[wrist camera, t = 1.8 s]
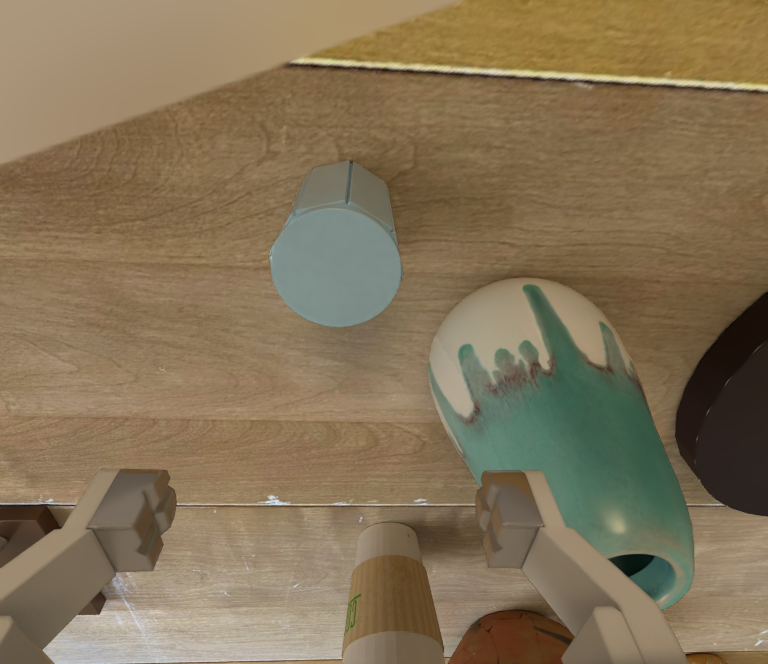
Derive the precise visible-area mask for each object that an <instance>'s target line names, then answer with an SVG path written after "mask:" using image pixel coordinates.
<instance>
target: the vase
mask: <svg viewBox="0 0 768 664" xmlns="http://www.w3.org/2000/svg"><path fill="white" fill-rule="evenodd" d="M429 383H430V389H431V393H432V397H433V400H434V403H435V406H436V409H437V412H438V414H439V416H440V419H441V421H442V424H443V426H444V428H445V430H446V432H447V434H448V436H449V438H450V440H451V442H452V443H453V445H454V447H455V449H456V450H457V452H458V454H459V456H460V457H461V459H462V460H463V462H464V463H465V465H466V467H467V468H468V470H469V471H470V473H471V474H472V476H473V477H474V479H475V481H476V482H477V484H478V485H479V487H480V488H481V487H482V483H481V476H482V473H483V472H484V471H485V470H521V471H524V470H539V471H542V472H543V473H544V475H545V477H546V480H547V482H548V484H549V487H550V489H551V492H552V494H553V496H554V499H555V501H556V503H557V506H558V508H559V510H560V513H561V515H562V517H563V520H564V522H565V524H566V527H572V528H574V529H575V530H576V531H577V532H578V533H579V534H580V535H581V536H583V537H584V538H585V539H586V540H587V541H588V542H589V543H590V544H592V545H593V546H594V547H595V548H596V549H597V550H598V551H599V552H600V553H602V554H603V555H604V556H605V557H606V558H607V559H608V560H609V561H611V562H612V563H613V564H614V565H615V566H616V567H617V568H618V569H620V570H621V571H622V572H623V573H624V574H625V575H626V576H627V577H628V578H630V579H631V580H632V581H633V582H634V583H635V584H636V585H637V586H639V587H640V588H641V589H642V590H643V591H644V592H645V593H646V594H648V595H649V596H650V597H651V598H652V599H653V600H654V601H655V602H656V603H658V604H659V606H660V608H661V610H664V609H666V608H668V607H670V606H671V605H673V604H675V603H676V602H678V601H679V600H680V599H681V598H682V597H683V596H684V595H685V594H686V593H687V592H688V590H689V588H690V587H691V584H692V581H693V577H694V565H695V564H694V538H693V529H692V523H691V519H690V515H689V512H688V508H687V505H686V501H685V499H684V496H683V493H682V491H681V488H680V485H679V483H678V480H677V477H676V475H675V473H674V470H673V468H672V466H671V463H670V461H669V459H668V456H667V454H666V452H665V449H664V447H663V444H662V442H661V439H660V437H659V435H658V432H657V430H656V427H655V425H654V422H653V419H652V415H651V412H650V409H649V406H648V403H647V399H646V396H645V393H644V389H643V386H642V383H641V381H640V378H639V376H638V373H637V370H636V368H635V366H634V364H633V361H632V359H631V357H630V355H629V353H628V351H627V349H626V347H625V345H624V343H623V341H622V339H621V338H620V336H619V334H618V333H617V331H616V330H615V328H614V326H613V325H612V323H611V322H610V321H609V319H608V318H607V317H606V316H605V314H604V313H603V312H602V311H601V310H600V309H599V308H598V307H597V306H596V305H595V304H594V303H593V302H591V301H590V300H589V299H588V298H586V297H585V296H583V295H582V294H580V293H579V292H577V291H575V290H574V289H572V288H570V287H568V286H566V285H563V284H560V283H557V282H554V281H550V280H546V279H541V278H530V277H524V278H510V279H504V280H500V281H496V282H493V283H490V284H488V285H485V286H483V287H481V288H479V289H477V290H475V291H473V292H472V293H470V294H469V295H467V296H466V297H464V298H463V299H462V300H461V301H460V302H458V303H457V304H456V305H455V306H454V307H453V308H452V310H451V311H450V312H449V313H448V314H447V316H446V317H445V318H444V320H443V321H442V323H441V324H440V326H439V328H438V330H437V332H436V335H435V337H434V340H433V342H432V346H431V350H430V357H429Z"/></svg>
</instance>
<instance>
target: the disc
mask: <svg viewBox="0 0 768 664" xmlns="http://www.w3.org/2000/svg"><path fill="white" fill-rule="evenodd" d="M675 437H676V440H677V444H678V447H679V451H680V455H681V456H682V457H683V459H684V460H685V462H686V463H687V464H688V466H689V467H690V468H691V470H692V471H693V472H694V474H695V475H696V476H697V477H698V479H699V481H700V482H701V483H702V485H703V486H704V487H705V489H706V490H707V491H708V493H709V494H710V495H711V496H712V497H713V498H715V499H716V500H718V501H720V502H721V503H723V504H724V505H726V506H727V507H730V508H733V509H736V510H739V511H742V512H745V513H748V514H753V515H761V516H768V292H767V293H766V294H765V295H764V296H762V297H761V298H760V299H759V300H758V301H757V302H756V303H755V304H754V305H753V306H752V307H751V308H749V309H748V310H747V311H746V312H745V313H744V314H743V315H742V316H741V317H740V318H739V319H737V320H736V321H735V322H734V323H733V324H732V325H731V326H730V327H729V328H728V329H727V330H726V332H725V333H724V334H723V335H722V336H721V338H720V339H719V340H718V341H717V342H716V344H715V345H714V346H713V347H712V348H711V350H710V351H709V352H708V353H707V354H706V355H705V357H704V358H703V359H702V361H701V363H700V365H699V366H698V368H697V370H696V371H695V373H694V375H693V376H692V378H691V380H690V381H689V383H688V385H687V386H686V388H685V391H684V394H683V397H682V400H681V403H680V406H679V409H678V411H677V419H676V434H675Z"/></svg>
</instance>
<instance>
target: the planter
mask: <svg viewBox="0 0 768 664" xmlns="http://www.w3.org/2000/svg"><path fill="white" fill-rule="evenodd" d="M685 656H686V658H687V660H688V662H689V664H727V663H726V662H725V661H724V660H723V659H721V658H720V657H718V656H715V655H711V654H691V655H685Z"/></svg>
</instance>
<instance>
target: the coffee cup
mask: <svg viewBox="0 0 768 664" xmlns="http://www.w3.org/2000/svg"><path fill="white" fill-rule="evenodd" d="M443 653H444V646H443V641H442V637H441V633H440V628H439V624H438V620H437V615H436V611H435V607H434V602H433V598H432V594H431V589H430V585H429V581H428V577H427V572H426V569H425V567H424V566H423V562H422V557H421V553H420V548H419V544H418V539H417V535H416V533H415V531H414V530H413V529H411V528H410V527H408V526H406V525H404V524H400V523H394V522H386V523H379V524H375V525H372V526H370V527H368V528H366V529H365V530H363V531H362V532H361V533H360V535H359V537H358V544H357V552H356V560H355V568H354V571H353V574H352V581H351V588H350V596H349V603H348V611H347V618H346V626H345V634H344V641H343V649H342V658H343V663H342V664H445V660H444V655H443Z"/></svg>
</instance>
